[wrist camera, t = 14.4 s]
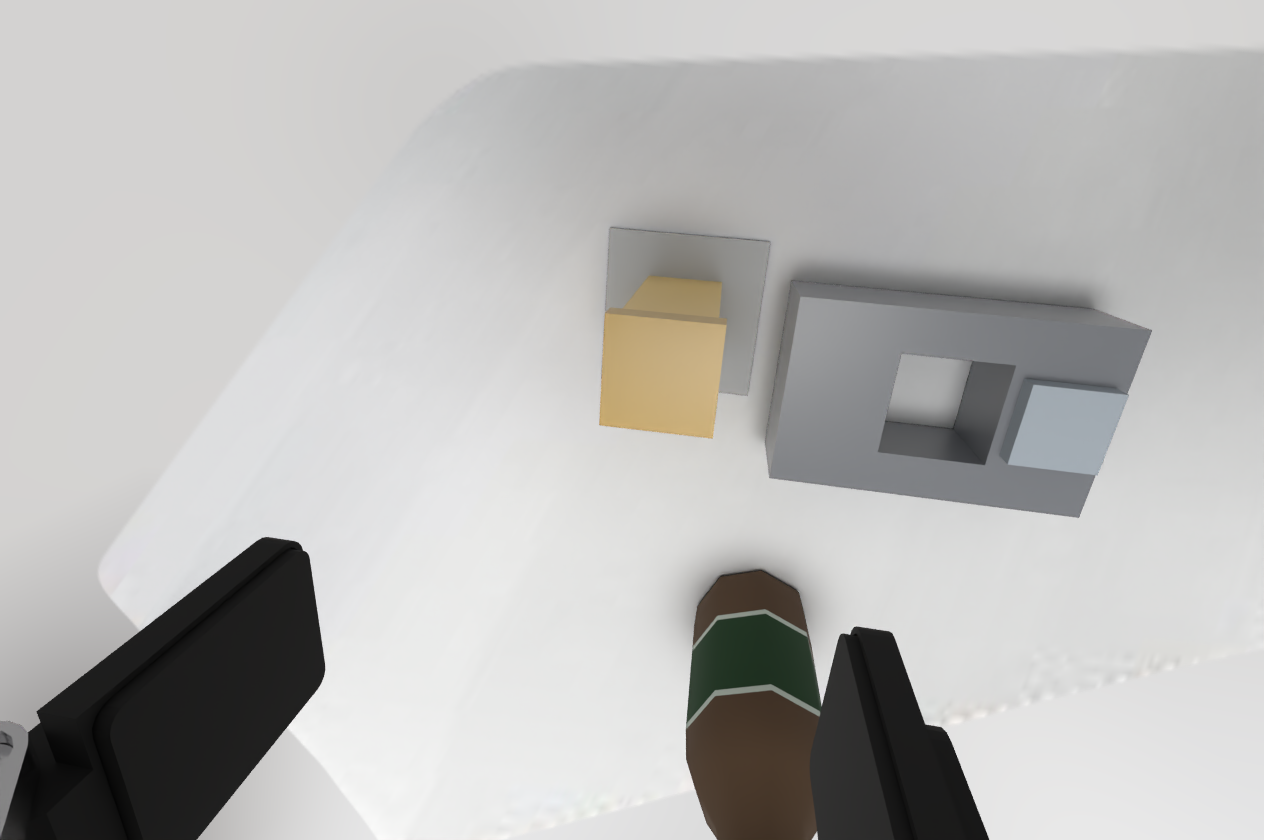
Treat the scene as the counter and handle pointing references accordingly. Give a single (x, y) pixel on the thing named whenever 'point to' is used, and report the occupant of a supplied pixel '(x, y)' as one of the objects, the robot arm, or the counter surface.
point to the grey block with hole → (991, 404)
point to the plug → (664, 358)
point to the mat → (698, 260)
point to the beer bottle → (753, 710)
